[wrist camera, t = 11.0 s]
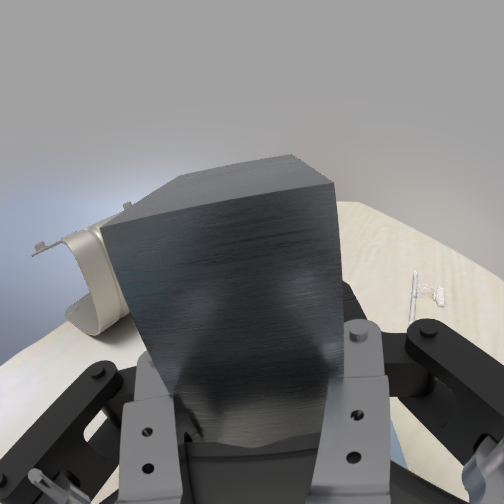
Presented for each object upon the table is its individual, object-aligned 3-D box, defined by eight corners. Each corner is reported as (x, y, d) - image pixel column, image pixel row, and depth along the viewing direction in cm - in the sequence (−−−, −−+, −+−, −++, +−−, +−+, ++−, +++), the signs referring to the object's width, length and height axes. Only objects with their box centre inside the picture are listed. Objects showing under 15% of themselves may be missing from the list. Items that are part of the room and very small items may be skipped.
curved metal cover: (115, 360, 33) (63, 245, 27) (55, 314, 46) (23, 236, 40) (235, 269, 51) (215, 178, 45) (151, 256, 65) (132, 189, 59)
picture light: (413, 272, 40) (414, 260, 39) (440, 275, 38) (441, 262, 37) (406, 333, 29) (409, 318, 28) (443, 336, 27) (447, 321, 26)
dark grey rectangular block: (240, 502, 9) (98, 227, 5) (244, 404, 15) (179, 175, 10) (335, 492, 9) (334, 183, 4) (318, 395, 14) (291, 154, 10)
